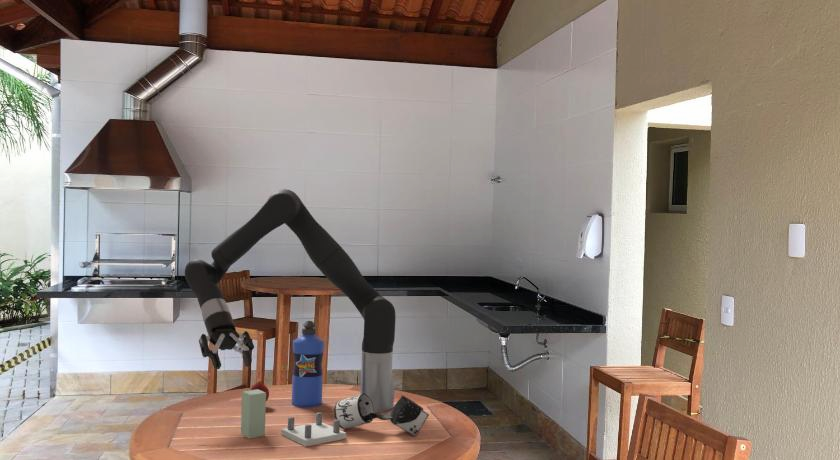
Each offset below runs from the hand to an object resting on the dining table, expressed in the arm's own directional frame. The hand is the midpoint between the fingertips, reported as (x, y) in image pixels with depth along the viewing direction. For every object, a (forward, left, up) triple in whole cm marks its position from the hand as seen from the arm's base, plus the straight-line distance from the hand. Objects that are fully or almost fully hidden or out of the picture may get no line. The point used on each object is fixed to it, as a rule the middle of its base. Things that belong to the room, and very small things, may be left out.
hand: (234, 366), depth 197 cm
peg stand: (-12, +22, -16) cm, 29 cm away
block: (0, +12, -16) cm, 20 cm away
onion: (-14, -12, -16) cm, 24 cm away
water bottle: (-28, -8, -16) cm, 33 cm away
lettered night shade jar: (-29, +27, -16) cm, 43 cm away
